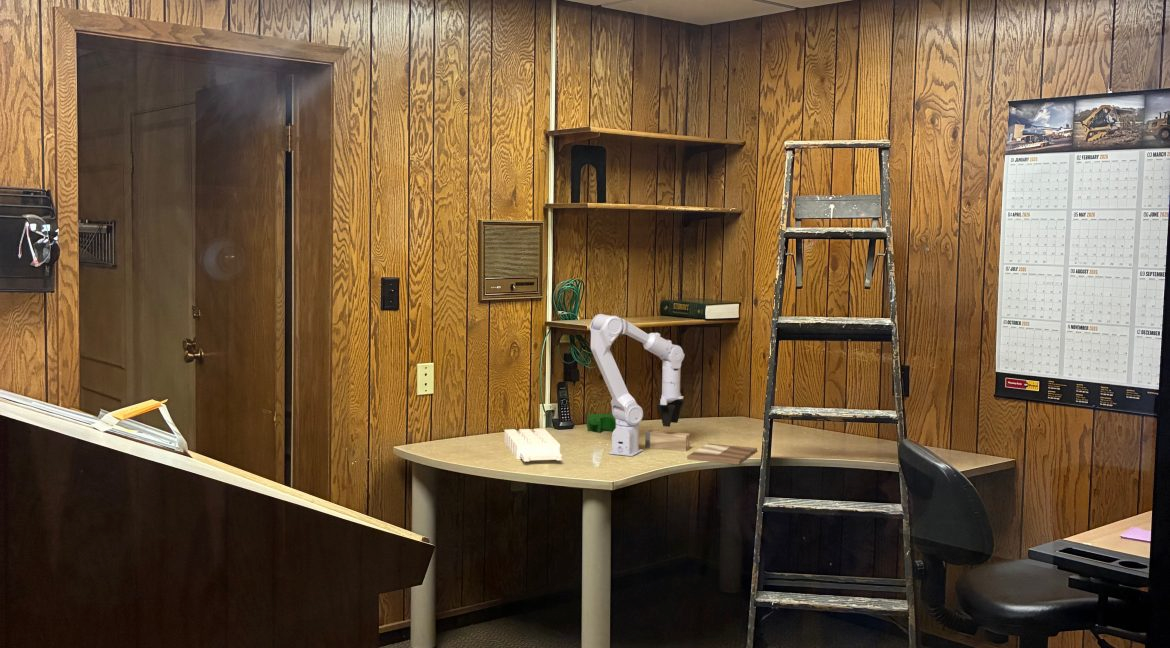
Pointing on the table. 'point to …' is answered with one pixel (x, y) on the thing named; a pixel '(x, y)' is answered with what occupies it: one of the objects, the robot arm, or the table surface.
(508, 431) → the organizer
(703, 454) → the board
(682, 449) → the tan wooden bar
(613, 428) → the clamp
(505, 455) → the table surface
